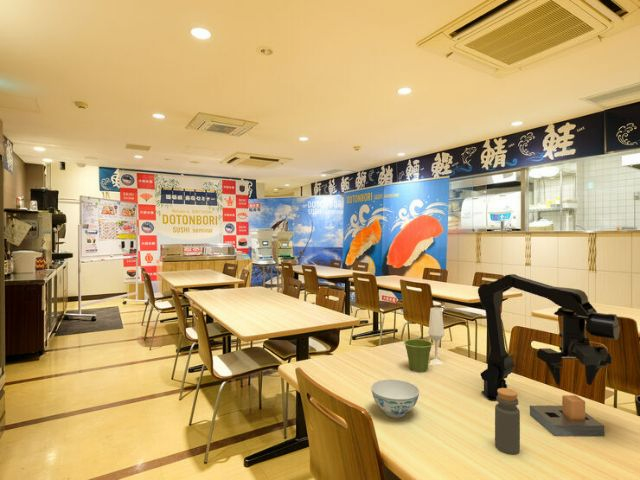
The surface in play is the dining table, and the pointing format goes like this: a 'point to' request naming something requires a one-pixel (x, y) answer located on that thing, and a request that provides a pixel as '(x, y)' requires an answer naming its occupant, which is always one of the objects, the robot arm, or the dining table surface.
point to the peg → (573, 407)
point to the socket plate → (565, 422)
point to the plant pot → (418, 353)
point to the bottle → (507, 422)
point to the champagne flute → (436, 330)
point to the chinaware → (395, 396)
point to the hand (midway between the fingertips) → (573, 384)
